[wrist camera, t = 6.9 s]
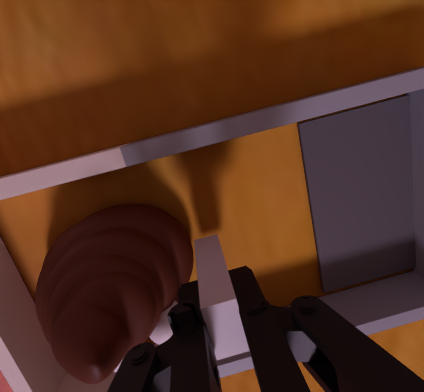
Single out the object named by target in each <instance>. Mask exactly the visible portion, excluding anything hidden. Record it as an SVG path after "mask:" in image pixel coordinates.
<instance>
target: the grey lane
mask: <svg viewBox="0 0 424 392" xmlns="http://www.w3.org/2000/svg"><path fill="white" fill-rule="evenodd" d="M405 93H406V96H402V97H398V98H394V99H391V100H387V101H383V102H379V103H375V104H372V105H368V106H364V107H360V108H356V109H353V110H349V111H345V112H341V113H337V114H334V115H330V116H326V117H322V118H318V119H315V120H311V121H307V122H303V123H300V124H297V126H298V133H299V139H300V146H301V152H302V159H303V165H304V172H305V178H306V185H307V192H308V198H309V205H310V211H311V218H312V224H313V231H314V237H315V244H316V250H317V257H318V263H319V270H320V276H321V283H322V289H323V292H324V293H326V292H330V291H333V290H337V289H340V288H344V287H347V286H351V285H354V284H358V283H362V282H365V281H369V280H372V279H376V278H379V277H383V276H386V275H390V274H393V273H397V272H400V271H404V270H407V269H411V268H413V271H410V272H406V273H403V274H399V275H395V276H392V277H388V278H385V279H381V280H378V281H374V282H371V283H367V284H364V285H360V286H357V287H353V288H350V289H346V290H343V291H339V292H336V293H332V294H329V295H325V296H322V297H318V298H319V299H321V300H322V301H323V302H325V303H326V304H327V305H328V306H330V307H331V308H332V309H333V310H335V311H336V312H337V313H339V314H340V315H341V316H342V317H344V318H345V319H346V320H347V321H349V322H350V323H351V324H353V325H354V326H355V327H356V328H358V329H359V330H360V331H361V332H363V333H364V334H365V335H370V334H373V333H377V332H380V331H384V330H387V329H391V328H394V327H397V326H401V325H404V324H408V323H411V322H415V321H418V320H422V319H424V67H420V68H416V69H412V70H408V71H404V72H401V73H397V74H393V75H389V76H385V77H381V78H378V79H374V80H370V81H366V82H362V83H358V84H355V85H351V86H347V87H343V88H339V89H335V90H332V91H328V92H324V93H320V94H316V95H312V96H309V97H305V98H301V99H297V100H293V101H289V102H285V103H282V104H278V105H274V106H270V107H266V108H262V109H259V110H255V111H251V112H247V113H243V114H239V115H236V116H232V117H228V118H224V119H220V120H216V121H213V122H209V123H205V124H201V125H197V126H193V127H190V128H186V129H182V130H178V131H174V132H170V133H166V134H163V135H159V136H155V137H151V138H147V139H143V140H140V141H136V142H132V143H130V144H127V145H125V146H122V147H120V150H121V153H122V156H123V159H124V162H125V164H126V167H128V166H131V165H135V164H139V163H143V162H147V161H150V160H154V159H158V158H162V157H166V156H169V155H173V154H177V153H181V152H185V151H188V150H192V149H196V148H200V147H204V146H207V145H211V144H215V143H219V142H223V141H226V140H230V139H234V138H238V137H242V136H245V135H249V134H253V133H257V132H261V131H264V130H268V129H272V128H276V127H280V126H283V125H287V124H291V123H295V122H299V121H302V120H306V119H310V118H314V117H318V116H321V115H325V114H329V113H333V112H337V111H340V110H344V109H348V108H352V107H356V106H359V105H363V104H367V103H371V102H375V101H378V100H382V99H386V98H390V97H394V96H397V95H401V94H405ZM286 307H290V306H286ZM215 359H216V356H215ZM216 364H217V367H218V370H219V376H220V378H222V377H225V376H228V375H232V374H235V373H239V372H242V371H246V370H249V369H253V368H254V366H253V362H252V358H251V355H250V351H248V352H244V353H241V354H237V355H234V356H230V357H227V358H224V359H220V360H216Z"/></svg>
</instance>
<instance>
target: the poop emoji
mask: <svg viewBox="0 0 424 392" xmlns="http://www.w3.org/2000/svg"><path fill="white" fill-rule="evenodd" d="M192 269H193V249H192V244H191V241H190V239H189V237H188V235H187V233H186V231H185V230H184V228H183V227H182V226H181V224H180V223H179V222H178V221H177V220H176V219H175V218H173V217H172V216H171V215H169V214H168V213H166V212H164V211H162V210H160V209H158V208H155V207H152V206H148V205H143V204H123V205H117V206H113V207H109V208H106V209H103V210H100V211H98V212H96V213H94V214H92V215H90V216H88V217H86V218H85V219H83V220H82V221H80V222H79V223H77V224H75V225H74V226H72V227H70V228H69V229H67V230H66V231H65V232H63V233H62V234H61V235H60V236H59V237H58V238H57V239H56V240H55V242H54V243H53V244H52V246H51V247H50V249H49V251H48V253H47V255H46V257H45V259H44V262H43V266H42V270H41V272H40V275H39V278H38V282H37V286H36V293H35V307H36V313H37V317H38V320H39V323H40V325H41V327H42V330H43V333H44V335H45V337H46V339H47V341H48V342H49V344H50V345H51V349H52V352H53V355H54V357H55V358H56V360H57V362H58V363H59V364H60V365H61V367H62V368H63V369H64V370H65V371H66V372H68V373H69V374H70V375H71V376H73V377H74V378H76V379H77V380H79V381H81V382H84V383H87V384H97V383H100V382H102V381H103V380H105V379H106V378H107V377H108V376H109V375H110V374H111V373H112V372H117V370H118V368H119V366H120V364H121V362H122V360H123V358H124V357H125V355H126V354H127V352H128V351H129V350H130V349H132V348H133V347H134V346H136V345H138V344H140V343H144V342H145V341H146V340H147V339H148V338H149V337H150V339H151V340H152V341H153V342H155V343H156V344H159V345H160V344H162V343H164V342H165V341H167V340H168V339H169V338H170V337H171V336H172V335H173V332H172V330H171V327H170V324H169V321H168V319H167V314H168V312H169V311H170V309H171V308H172V307H173V306H175V305H176V304H178V303H177V302H178V291H179V289H180V287H181V285H182V284H185V283H188V282H189V280H190V277H191V273H192Z"/></svg>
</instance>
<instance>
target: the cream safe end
mask: <svg viewBox="0 0 424 392" xmlns="http://www.w3.org/2000/svg"><path fill="white" fill-rule="evenodd" d="M128 144H130V143H128ZM125 145H127V144H124V145H120V146H117V147H113V148H109V149H105V150H101V151H97V152H93V153H90V154H86V155H82V156H78V157H74V158H70V159H67V160H63V161H59V162H55V163H51V164H47V165H44V166H40V167H36V168H32V169H28V170H24V171H21V172H17V173H13V174H9V175H5V176H1V177H0V200H2V199H6V198H10V197H13V196H17V195H21V194H25V193H29V192H32V191H36V190H40V189H44V188H48V187H51V186H55V185H59V184H63V183H67V182H70V181H74V180H78V179H82V178H86V177H89V176H93V175H97V174H101V173H105V172H108V171H112V170H116V169H120V168H124V167H126V164H125V162H124V159H123V156H122V153H121V150H120V147H122V146H125ZM153 345H154V346H155V347H157V346H158V345H159V344H153ZM0 370H1V372H2V373H3V375H4V377H5V378H6V380H7V382H8V383H9V385H10V387H11V388H12V390H13V391H14V392H107V391H108V388H109V386H110V384H111V382H112V380H113V378H114V376H115V374H116V372H112V373H111V374H110V375H109V376H108V377H107V378H106V379H105V380H103V381H102V382H100V383H97V384H87V383H84V382H81V381H79V380H77V379H76V378H74V377H73V376H71V375H70V374H69V373H68V372H66V371H65V370H64V369H63V368H62V367H61V365H60V364H59V363H58V362H57V360H56V358H55V357H54V355H53V352H52V349H51V345H50V344H49V342H48V341H47V339H46V337H45V335H44V333H43V330H42V327H41V325H40V323H39V320H38V317H37V313H36V307H35V303H34V301H33V299H32V297H31V295H30V293H29V291H28V289H27V287H26V285H25V284H24V282H23V280H22V278H21V276H20V274H19V272H18V270H17V268H16V266H15V264H14V262H13V260H12V258H11V256H10V254H9V253H8V251H7V249H6V247H5V245H4V243H3V241H2V239H1V237H0Z"/></svg>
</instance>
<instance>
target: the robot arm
mask: <svg viewBox="0 0 424 392" xmlns="http://www.w3.org/2000/svg"><path fill="white" fill-rule="evenodd" d="M194 244H195V255H196V266H197V277H198V280H196V281H192V282H189V283H185V284H182V285H181V287H180V289H179V291H178V304H176V305H175V306H173V307H172V308H171V309H170V311H169V312H168V314H167V319H168V321H169V324H170V327H171V330H172V332H173V335H172V336H171V337H170V338H169V339H168V340H167V341H165V342H164V343H162V344H160V345H158V346H157V347H155V346H154V345H153V344H152V343H148V342H144V343H140V344H138V345H136V346H134V347H133V348H132V349H130V350H129V351H128V352H127V354H126V355H125V357H124V358H123V360H122V362H121V364H120V366H119V368H118V370H117V372H116V374H115V376H114V378H113V380H112V382H111V384H110V386H109V388H108V391H107V392H222V389H221V383H220V376H219V370H218V367H217V364H216V360H220V359H224V358H227V357H230V356H234V355H237V354H241V353H244V352H248V351H250V355H251V358H252V362H253V366H254V369H255V373H256V376H257V380H258V383H259V387H260V390H261V392H310V389H309V387H308V385H307V383H306V381H305V379H304V377H303V374H302V372H301V370H300V368H299V366H298V364H297V362H302V363H303V365H304V367H305V368H306V369H307V370H308V371H309V373H310V374H311V375H312V376H313V377H314V379H315V380H316V381H317V382H318V384H319V385H320V386H321V387H322V388H323V390H324V391H325V392H424V380H422V379H421V378H420V377H419V376H417V375H416V374H415V373H414V372H412V371H411V370H410V369H408V368H407V367H406V366H405V365H403V364H402V363H401V362H400V361H398V360H397V359H396V358H395V357H393V356H392V355H391V354H389V353H388V352H387V351H386V350H384V349H383V348H382V347H381V346H379V345H378V344H377V343H375V342H374V341H373V340H372V339H370V338H369V337H368V336H367V335H365V334H364V333H363V332H361V331H360V330H359V329H358V328H356V327H355V326H354V325H353V324H351V323H350V322H349V321H347V320H346V319H345V318H344V317H342V316H341V315H340V314H339V313H337V312H336V311H335V310H333V309H332V308H331V307H330V306H328V305H327V304H326V303H325V302H323V301H322V300H321V299H319V298H317V297H314V296H301V297H298V298H296V299H295V300H293V301H292V303H291V305H290V307H277V306H273V305H271V304H269V303H268V302H267V301H266V300H265V298H264V296H263V294H262V291H261V289H260V287H259V285H258V283H257V281H256V278H255V276H254V274H253V272H252V270H251V269H250V268H248V267H247V266H243V267H239V268H236V269H232V270H229V271H228V269H227V266H226V262H225V259H224V256H223V252H222V249H221V246H220V242H219V239H218V235H217V234H215V235H211V236H208V237H204V238H201V239H197V240H194ZM215 356H216V359H215Z"/></svg>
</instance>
